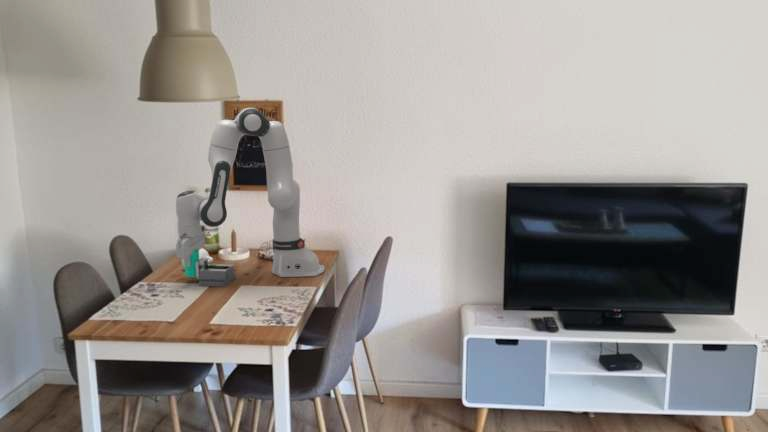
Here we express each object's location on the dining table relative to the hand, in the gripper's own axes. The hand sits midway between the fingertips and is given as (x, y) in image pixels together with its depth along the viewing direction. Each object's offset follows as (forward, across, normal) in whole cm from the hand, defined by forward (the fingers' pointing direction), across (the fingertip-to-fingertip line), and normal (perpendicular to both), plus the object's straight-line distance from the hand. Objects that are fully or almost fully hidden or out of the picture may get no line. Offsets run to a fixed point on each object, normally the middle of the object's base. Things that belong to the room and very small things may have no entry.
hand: (192, 263), depth 306 cm
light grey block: (+5, 0, -7) cm, 9 cm away
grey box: (+7, 0, -10) cm, 12 cm away
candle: (+5, 0, 0) cm, 5 cm away
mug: (+8, +18, +5) cm, 20 cm away
